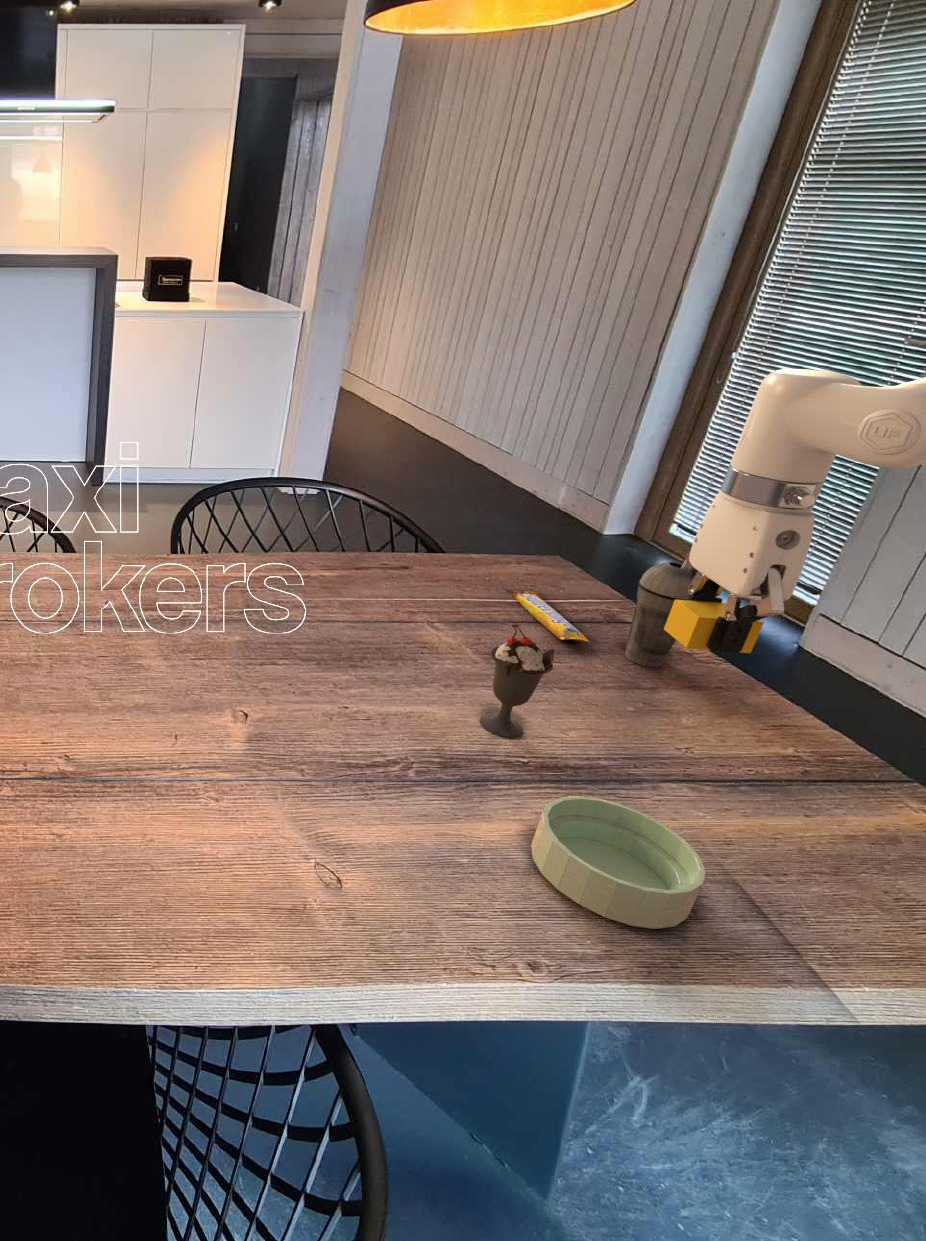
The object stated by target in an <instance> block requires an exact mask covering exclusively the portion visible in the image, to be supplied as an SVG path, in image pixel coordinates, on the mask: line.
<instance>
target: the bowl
mask: <svg viewBox="0 0 926 1241" xmlns="http://www.w3.org/2000/svg"><path fill="white" fill-rule="evenodd" d="M530 848H531V854H532V855H531V856H532V861H533V862H534V864H535V865H536V867H537V868H538V870H539V872H540V873H541V875H542V876H543V877H544V878H545V879H546V880H547V881H548V882H549V883H550V884H551V885H552V886H553V887H554V888H555V889H556V890H558V892H560V893H561V894H563V895H565V896H566V897H568V898H569V899H570V900H572V901H573V902H574V903H576V904H578V905H580V907H583V908H585V909H588V910H589V911H591V912H593V913H595V914H598V915H599V916H601V917H604V918H606V919H609V920H612V921H615V922H619V923H622V924H624V925H628V926H632V927H637V928H643V929H652V930H657V929H665V928H672V927H677V926H678V925H680V924H681V923H682V922H684V921H685V920H687V919H688V917H689V915H690V913H691V911H692V908H693V907H694V904H695V903H696V900H697V898H698V896H699V893H700V891H701V889H702V887H703V885H704V881H705V878H706V874H707V871H706V868H705V866H704V863H703V860H702V858H701V857H700V855H699V854H698V853H697V852H696V850H695V849H694V848H693V847H692V845H690V844H689V842H688V841H687V840H685V839H684V838H683V837H682V836H681V835H679V834H678V833H676V832H675V831H674V830H673V829H672V828H670V827H669V826H668V825H665V824H663V823H662V822H660V821H658V820H657V819H655V818H653V817H651V816H649V815H648V814H646V813H644V812H642V811H639V810H636V809H634V808H631V807H629V806H626V805H624V804H621V803H618V802H614V801H610V800H607V799H606V800H605V799H602V798H599V797H591V796H582V795H572V796H563V797H561V796H560V797H558V798H555V799H554V800H552V801H550V802H548V803H547V804H546V806H545V808H543V811H542V813H541V815H540V818H539V820H538V824H537V827H536V830H535V833H534V836H533V839H532V841H531V844H530Z"/></svg>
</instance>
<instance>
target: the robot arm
mask: <svg viewBox="0 0 926 1241" xmlns="http://www.w3.org/2000/svg"><path fill="white" fill-rule="evenodd" d="M837 456H839V457H843V458H846V459H848V460H852V461H855V462H857V463H860V464H863V465H864V464H865V465H868V466H871V467H877V468H883V469H893V470H894V469H909V468H913V467H917V466H921V465H924V464H926V377H921V378H919V379H915V380H911V381H908V382H904V383H900V384H898V385H892V386H871V385H870V386H868V385H862V383H861V382H860V381H859V380H858V379H856V378H854V377H852V376H849V375H847V374H842V373H837V372H832V371H825V370H819V369H805V368H783V369H778V370H775V371H772V372H770V373H769V374H767V375H766V376H765V377H764V378H763V379H762V380H761V383H760V385H759V387H758V390H757V392H756V395H755V397H754V400H753V402H752V405H751V408H750V410H749V412H748V415H747V418H746V420H745V423H744V425H743V428H742V430H741V434H740V436H739V440H738V442H737V445H736V447H735V450H734V452H733V455H732V458H731V460H730V463H729V466H728V468H727V470H726V472H725V476H724V478H723V481H722V483H721V486H720V489H719V491H718V493H717V494H716V496H715V497H714V499H713V501H712V502H711V503H710V506H709V507H708V510H707V511H706V513H705V515H704V516H703V517H704V518H703V519H702V521H701V523H700V525H699V527H698V530H697V532H696V535H695V537H694V540H693V542H692V546H691V548H690V551H689V552H687V553H686V554H685V560H686V561H687V564H688V567H689V569H690V571H689V575H690V580H691V583H690V585H689V586H688V593H689V594H691V595H689V597H688V600H689V601H702V602H716V603H723V600H724V599H723V598H721V597H719V596H720V595H721V594H722V592H723V591H724V590H726V591H727V592H728V596H727V600H726V603H727V605H726V609H725V614H724V617H718V619H717V622H716V624H715V626H714V629H713V631H712V634H711V636H710V639H709V641H708V644H707V647H708V648H709V649H710V650H709V651H715V652H716V651H717V652H727V653H740V651H741V650H742V648H743V646H744V644H745V641H746V639H747V637H748V634H749V632H750V630H751V627H752V625H753V623H758V622H759V621H760V620H764V619H766V618H769V617H773V616H774V617H775V616H779V615H783V614H784V612H785V601H788V600H790V598H791V597H792V596H793V593H794V592H795V589H796V587H797V585H798V582H799V579H800V577H801V574H802V572H803V569H804V566H805V563H806V561H807V556H808V553H809V550H810V546H811V542H812V538H813V533H814V528H815V519H816V518H815V517H816V514H814V513H813V509H814V507H815V505H816V503H817V500H818V498H819V495H820V493H821V491H822V488H823V486H824V484H825V481H826V480H827V477H828V475H829V473H830V470H831V468H832V465H833V463H834V460H835V458H836V457H837ZM743 600H744V601H749V604H747V605H744V606H741V603H742V601H743ZM740 606H741V608H740Z"/></svg>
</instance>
